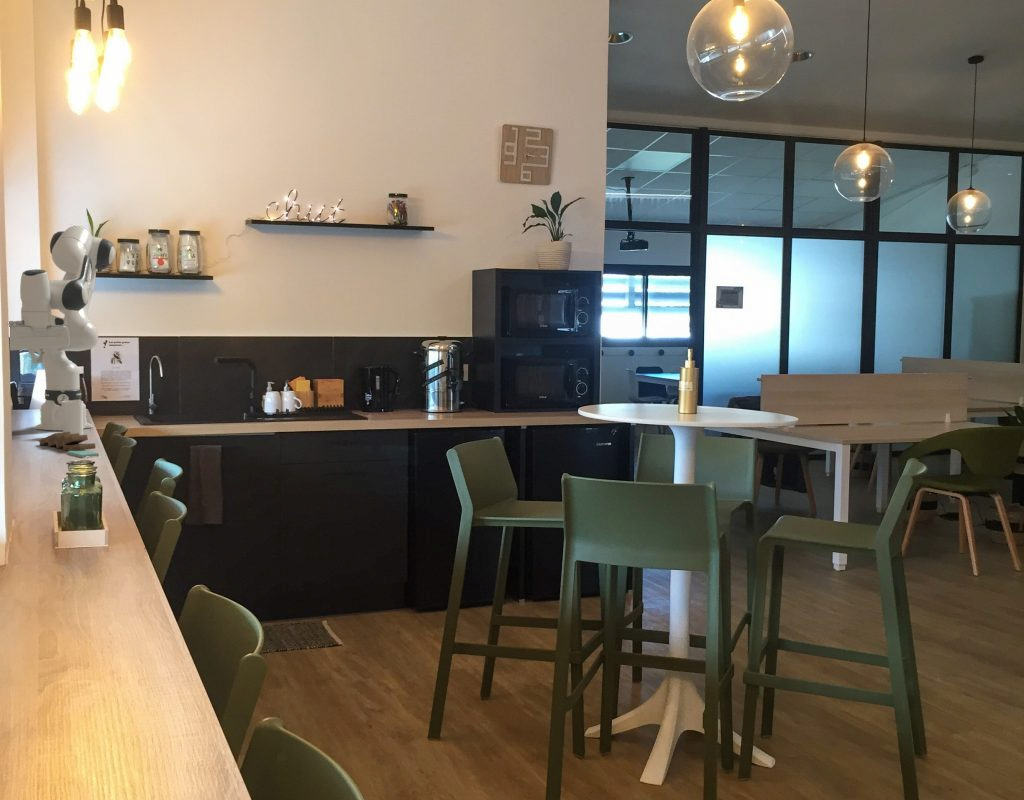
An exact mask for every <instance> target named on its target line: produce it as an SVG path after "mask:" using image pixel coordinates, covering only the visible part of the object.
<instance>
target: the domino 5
mask: <svg viewBox="0 0 1024 800" xmlns="http://www.w3.org/2000/svg"><path fill="white" fill-rule="evenodd" d="M66 451H67V455H69V456H74V457H77V456H78V457H77V458H81V457H86V456H97V457H99V452H94V451H91V450H88V449H86V450H66Z"/></svg>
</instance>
